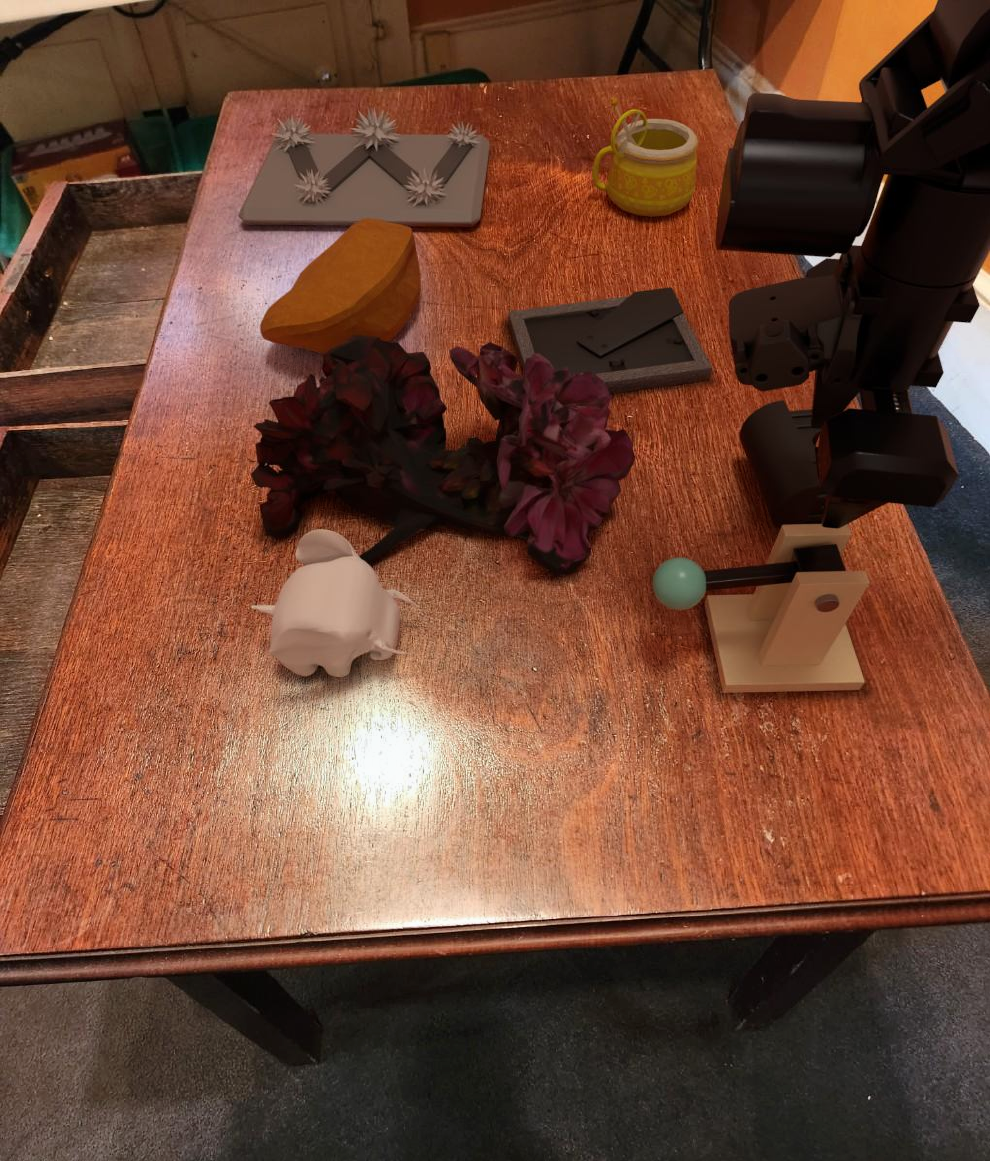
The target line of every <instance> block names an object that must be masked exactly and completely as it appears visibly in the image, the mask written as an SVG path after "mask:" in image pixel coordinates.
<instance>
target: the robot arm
mask: <svg viewBox="0 0 990 1161" xmlns="http://www.w3.org/2000/svg"><path fill="white" fill-rule="evenodd" d="M938 82H940V83H941V86H942V89H943V90H944V93H943V94H942V95H941V96H940V97H938V98H937V99H936V100H934V101H933V102H932V103H931V104H930V105H929V106H928V105H927V103H926V99H925V96H924V94H923V90H924V89H926V88H929V87H930V86H932V85H934V84H936V83H938ZM858 90H859V94H860V98H861V101H860V102H859V101H841V100H819V99H818V100H817V99H799V98H793V97H789V96H787V95H783V94H779V93H769V92H767V93H764V92H753V93H752V94H750V96H748V98H747V102H746V106H745V112H744V117H743V120H741V122H740V124H739V126H738V128H737V132H736V134H735V139H734V143H733V146H732V147H728V149H727V150H728V151H727V156H726V160H725V166H724V171H723V176H722V182H721V187H720V193H719V201H718V208H717V216H716V225H715V226H716V227H715V243H714V244H715V249H716V250H717V251H727V252H740V253H741V252H744V253H757V254H758V253H759V254H772V255H774V254H775V255H788V256H789V255H790V256H801V257H802V256H804V257H818V258H824V259H823V260H822V261H821V260H820V262H818V263H817V264H815V265H813V266H812V267H810V268H809V269H807V270H806V273H805V277H797V278H794V279H793V278H792V279H789V280H785V281H780V282H776V283H771V284H767V285H763V286H757V287H753V288H749V289H745V290H742V291H739V292H738V293H736V294H734V295H733V296H732V297H731V298H730V300H729V301H728V335H729V341H730V346H731V352H732V358H733V363H734V373H735V376H736V379H737V381H738V382H739V383H740V384H741V385H745V386H752V387H753V389H756V390H757V391H760V392H769V391H774V390H780V389H784V388H785V389H786V388H791V387H796V386H801V385H803V384H804V383H805V382H806V381H807V380H808V379H809V378H810V373H813V372H814V380H813V381H814V382H813V392H812V405H811V409H812V414H811V426H812V428H818V429H822V431H821V433H820V436H819V438H818V445H817V446H816V447H815V456H816V466H817V475H818V479H819V482H820V488H821V489H822V490H823V491H825V492H826V493H827V495H826V500H825V504H824V510H823V515H822V521H821V522H822V526H823V527H825V528H834V529H838V528H841V527H843V526H845V525H847V524H848V525H849V524H850V523H853V522H854V521H856V520H859V519H860V518H862V517H864V516H865V515H868V514H869V513H871V512H873V511H875V510H877V509H879V508H881V507H883V506H885V505H887V504H895V505H907V506H918V507H927V508H935V507H936V506H938V505H939V504H941V503H942V502H944V500H945V499H946V497H947V495H948V494H949V492H950V491H951V489H952V488H953V486H954V485H955V483H956V482H957V480H958V478H959V477H960V474H959V470H958V467H957V462H956V459H955V455H954V450H953V447H952V443H951V439H950V435H949V432H948V429H947V427H945V425H944V424H943V422H942V421H941V420H940V419H939V417H938V415H933V414H919V413H914V409H913V406H912V401H911V397H910V392H909V389H910V387H911V386H912V387H922V388H923V387H924V388H937V386H938V384H939V383H940V381H941V379H942V378H943V375H944V373H945V372H944V369H943V365H942V361H941V357H940V354H939V351H940V350H941V347H942V345H943V344H944V342H945V339H946V337H947V336H948V334H949V332H950V330H951V328H952V326H953V324H954V323H966V324H971V323H972V321H973V319H974V318H975V315H976V313H977V312H978V310H979V308H980V307H981V305H980V302H979V299H978V296H977V293H976V290H975V287H974V283H975V281H976V280H977V278H978V276H979V274H980V271H981V270H982V268H983V266H984V264H985V262H986V260H987V258H988V256H989V255H990V0H937V1H936V4H935V6H934V9H933V11H931V13H930V14H928V15H927V16H926V17H925V18H923V20H922V21H921V22H920V23H919V24H918V25H916V26H915V27H914V28H913V29H912V31H910V32H909V33H908V34H907V35H906V36H905V37H904V38H902V40H901V41H900V42H899V43H898V44H897V45H896V46H894V48H893V49H891V50H890V52H888V53H887V54H886V55H885V56H883V58H882V59H881V60H880V61H879V62H878V63H877V64H875V66H874V67H873V68H871V69H870V70H869V71H868V72H867V73H866V74H865V75H864V76H863V77H862V78H861V79H860V81H859V82H858ZM885 175H887V176H886V178H885V180H884V181H885V182H884V184H883V187H882V190H881V192H880V189H881V186H882V182H883V179H884V177H885ZM879 193H880V195H879ZM878 196H879V198H878ZM865 232H866V233H865ZM863 233H865V234H864V238H863V240H862V243H861V245H855V244H854V242H855V241H856V238H859V237H860V236H862V235H863ZM836 254H838V255H839V254H840V256H839V258H832V257H834V256H835V255H836ZM858 395H859V397H860V405H861V408H851V407H849V405H850V404H851V403H852V402H853V401H854V399H856V397H857V396H858ZM847 407H849V408H847Z"/></svg>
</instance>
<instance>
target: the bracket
mask: <svg viewBox="0 0 990 1161" xmlns="http://www.w3.org/2000/svg"><path fill="white" fill-rule="evenodd" d="M851 536H852V531H851V528H850V526H849V524H847V525H845V526H843V527H841V528H838V529H834V528H825V527H823V526H822V524H795V525H782V527H781V529H780V530H779V532H778V535H777V537H776V539H775V541H774V543H773V547H772V549H771V552H770V554H769V556H768V559H767V561H766V563H765V564H773V563H783V562H791V558H792V554H793V549H794V548H802V547H811V546H821V545H830V544H837V546H838V549H839V552H840V555H841V556H842V553H843V551H844V549H845V548H846V546H847V544H848V542H849V540H850V538H851ZM869 585H870V579H869V576H868V573H867V571H866V570H845V571H831V572H797V573H796V575H795V577H794V579H793V581H792V583H783V584H774V585H764V586H756V588H755V590H754V593H753V594H752V593H751V594H750V593H749V594H747V593H745V594H708V595H706V598H705V600H704V609H705V614H706V618H707V619H706V620H707V623H708V624H707V625H708V628H709V633H710V638H711V642H712V647H713V653H714V657H715V662H716V667H717V671H718V677H719V682H720V687H721V691H722V693H723V694H728V693H733V694H734V693H776V692H777V693H778V692H779V693H780V692H781V693H782V692H823V691H824V692H826V691H828V692H829V691H830V692H831V691H859V690H861V688H862V687H863V686H864V684H865V682H866V680H865V678H864V675H863V672H862V669H861V666H860V663H859V660H858V657H857V654H856V651H855V648H854V645H853V641H852V639H851V636H850V633H849V629H848V627H847V624H846V623H847V622H848V620H849V618H850V616H851V615H852V613H853V611H854V610H855V608H856V606H857V605H858V604H859V602H860V600H861V598H862V597H863V595H864V593H865V592H866V590H867V589H868V586H869Z"/></svg>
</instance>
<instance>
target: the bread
mask: <svg viewBox="0 0 990 1161" xmlns="http://www.w3.org/2000/svg"><path fill="white" fill-rule="evenodd" d="M419 262H420V261H419V256H418V251H417V245H416V239H415V236H414V232H413V229H412V228H411V226H404V225H401V224H395V223H390V222H386V221H383V220H379V219H371V218H364V219H362V220H360V221H358V222H357V223H355V224H353V225H351V226H348V228H347V229H346V230H345V231H344V232H343V233H342V234H341V235H340V236H339V237H338V238H337V239H336V240H335V241H334V242H333V243H332V244H331V245H329V247H327V248H326V249H325V250H324V251H323V252H322V253H320V254H319V255H318V256H317V257H316V258H314V259H313V260H312V261H311V262H310V263H309V264H308V265H306V266H305V267H304V269H303V270H302V271H301V272H300V273H299V275H298V277H297V278H296V280H295V282H294V284H293V285H292V287H291V288H290V289H289V291H287V292H286V293H285V294H283V295H282V296H280V297H279V298H278V299H277V300H276V301H275V302H274V303H272V304H271V305H270V306H269V307H268V308H267V310H266V312H265V313H264V315H263V317H262V320H261V321H260V324H259V330H260V335H261V337H262V339H263V340H266V341H268V342H270V343H274V344H276V345H282V346H286V347H287V346H288V347H293V348H300V349H304V350H308V351H310V352H315V353H318V354H321V355H322V354H323V355H324V354H325V353H326V352H328V351H329V350H330V349H332V348H334V347H337V346H339V345H341V344H343V343H345V342H346V339H347V338H349V337H351V336H353V335H354V334H355V335H364V336H373V337H379V338H380V339H381V340H382V341H388V342H391V341H392V340H393V339H394V338H395V337H396V336H397V335H398V334H399V332H400V331H402V329H403V328H404V327H405V325H406V324H407V322H408V321H409V319H410V318H411V316H412V314H413V313H414V311H415V309H416V307H417V305H418V302H419V300H420V299H421V292H422V291H421V289H422V287H421V286H422V282H421V281H422V278H421V276H422V275H421V270H420V263H419Z"/></svg>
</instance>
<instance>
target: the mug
mask: <svg viewBox="0 0 990 1161" xmlns="http://www.w3.org/2000/svg"><path fill="white" fill-rule="evenodd" d="M609 102H610V105H611V106H613V107H614V109H615V111H616V113H617V115H618V119H617V121H616V123H615V124H614V126H613V129H612V132H611V135H610V145H608V146H605V147H603V148H601V149H600V150H599V151H598V153H596V155H595V159H594V162H593V166H592V170H591V174H592V180H591V181H592V184H593V186H594V187H595V188H596V189H597V190H599V191H602V192H604V193H605V194H606V195H608V197H609V199H610V200H611V203H613V204H614V205H616V206H617V207H618V208H619V209H621V210H622V211H624V212H626V213H630V214H632V215H635V216H639V217H651V218H653V217H663V216H664V217H666V216H668V215H671V214H673V213H676V212H678V211H680V210H682V209H683V208H685V207H686V206H687V205H688V204H689V202H690V201H691V199H692V197H693V196H694V193H695V188H696V182H697V181H696V179H697V164H698V155H697V149H698V147H699V137H698V135H697V134H696V133H695V132H694V130H693V129H692V128H690V127H689V126H687V125H685V124H683V123H681V122H679V121H677V120H671V119H667V118H647V116H646V114H645V113H644V111H642V110H640V109H636V108H633V109H629V110H627V111H625V112H624V113H623V114H621V111H620V109H619V107H618V100H617V98H616V97H615V96H612V97H611V98H610V101H609ZM633 114H634V115H633ZM631 115H633V118H632V121H631V123H627V121H626V119H627V118H628V117H629V116H631ZM640 117H641V118H642V119H640ZM639 119H640V120H639ZM621 125H622V127H623V128H622V129H621V130H620V131H619V132H618V130H619V128H620V126H621ZM617 132H618V133H617ZM608 154H612V158H611V162H610V166H609V172H608V177H607V180H606V181H605V182H604V183H603V182H601V181H600V179H599V178H600V177H599V171H600V167H601V166H600V165H601V162H602V159H603V158H604V157H605V156H606V155H608Z"/></svg>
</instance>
